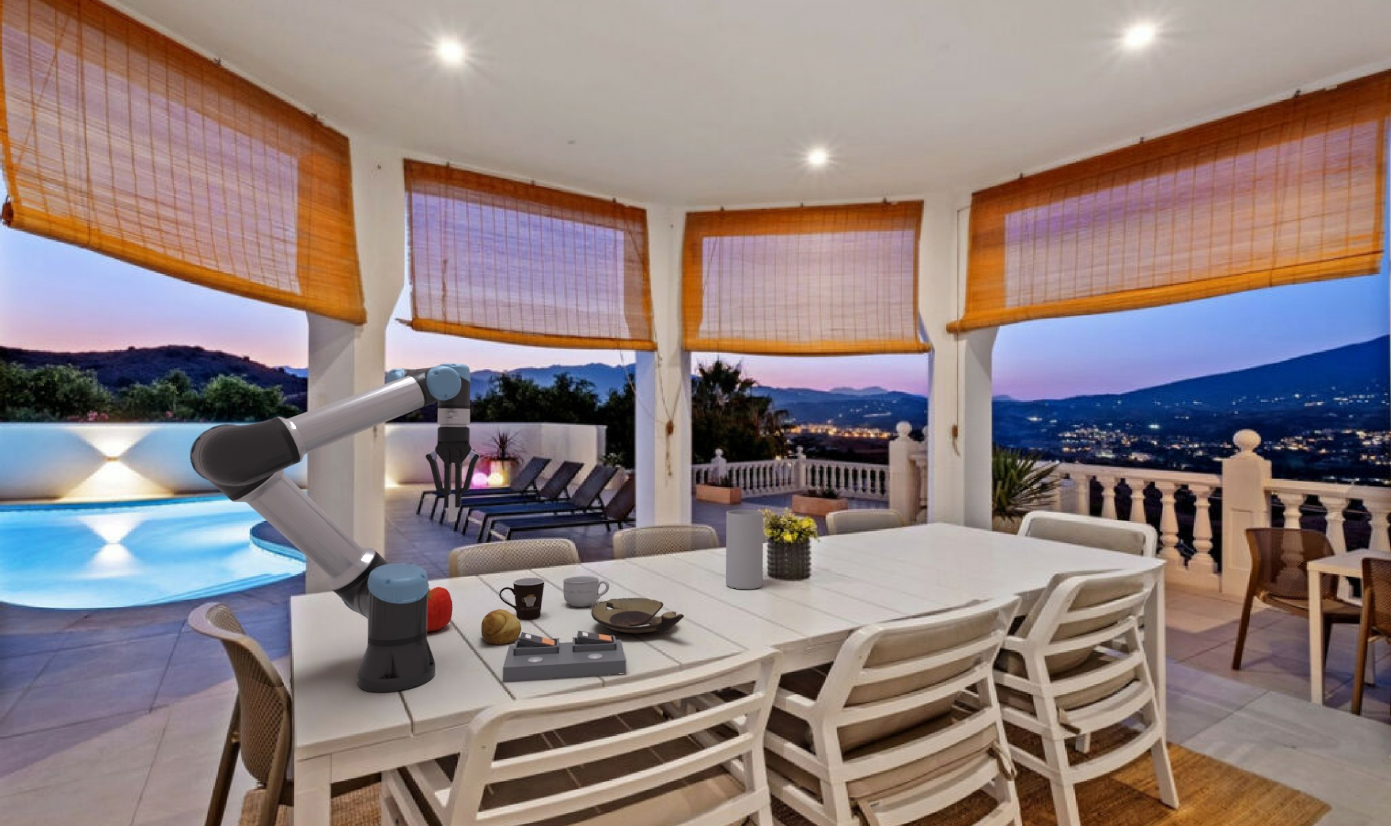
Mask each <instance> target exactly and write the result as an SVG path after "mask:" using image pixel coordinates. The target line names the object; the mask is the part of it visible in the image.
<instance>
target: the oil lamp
mask: <svg viewBox="0 0 1391 826" xmlns="http://www.w3.org/2000/svg"><path fill="white" fill-rule="evenodd" d="M663 606H664V603H663V601H659V600H656V599H650V598H646V597H621V598H610V599H608V600H604V601H600V602H599V603H598V604H596V605H594V607H592V609H591V611H590V614H591V617H592V619H593V620H594V621H595V622H597V623H599V624H600V625H602V626H604V627H607V628H609V629H610V630H613V631H616V632H620V633H626V634H644V633H652V632H657V633H660V634H664V633H667V632H669V631H670V630H671V629H672V628H673V627H674V626H676V624H678V623H679V622H680V621H682V620H683V619H684V618H685V617H684V616H685V615H684V614H683V613H679V614H677V612H676V611H667V612H664V613H662V614H661V615H660V616H658V617H656V615H657V614H658V612H659V611H660V610H661V609H662V608H663ZM609 608H610V609H609ZM654 617H655V618H654ZM653 618H654V619H653ZM641 624H642V625H641ZM644 624H648V625H644ZM640 625H641V626H640Z"/></svg>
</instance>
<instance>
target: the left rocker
mask: <svg viewBox="0 0 1391 826" xmlns="http://www.w3.org/2000/svg"><path fill="white" fill-rule="evenodd" d="M552 639H553V638H547V637H542V636H540V635H536V634H531V633H527V632H524V631H521V633H520V635H519V639H518V640H519V644H523V645H527V646H531V647H553V646H555V640H552Z"/></svg>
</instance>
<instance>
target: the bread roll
mask: <svg viewBox="0 0 1391 826" xmlns="http://www.w3.org/2000/svg"><path fill="white" fill-rule="evenodd" d="M480 628H481V629H480V630H481V636H482V638H483V640H484V641H485V642H486V643H488V644H492V645H505V644H508V643H513V642H515V641H516V640H518V639H517V638H519V637H520V636H521V633H522V625H521V621H520V619H518V618H517V615H516V614H513V613H511V612H510V611H508V610H507V609H501V608H498V609H495V610H492V611H490V612H488V613H487V614H486V615H485V616H484V617H483V618H482V621H481V625H480Z"/></svg>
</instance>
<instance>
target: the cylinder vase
mask: <svg viewBox="0 0 1391 826" xmlns="http://www.w3.org/2000/svg"><path fill="white" fill-rule="evenodd" d="M725 518H726V522H725V523H726V526H725V527H726V528H725V529H726V530H725V532H726V534H725V535H726V536H725V537H726V538H725V539H726V540H725V543H726V545H725V558H726V559H725V584H726V586H727V587H728V586H729V588H730V587H732V588H731V589H734V588H736V590H740V589H751V590H757V589H760V588H761V587H762V586H763V583H764V582H763V581H764V579H763V578H764V577H763V575H764V574H763V573H764V572H763V568H764V567H763V566H764V558H763V557H764V553H763V552H764V512H763V511H762V510H761V511H760V510H753V509H732V510H728V511H726V517H725ZM759 587H760V588H759ZM756 588H757V589H756Z"/></svg>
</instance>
